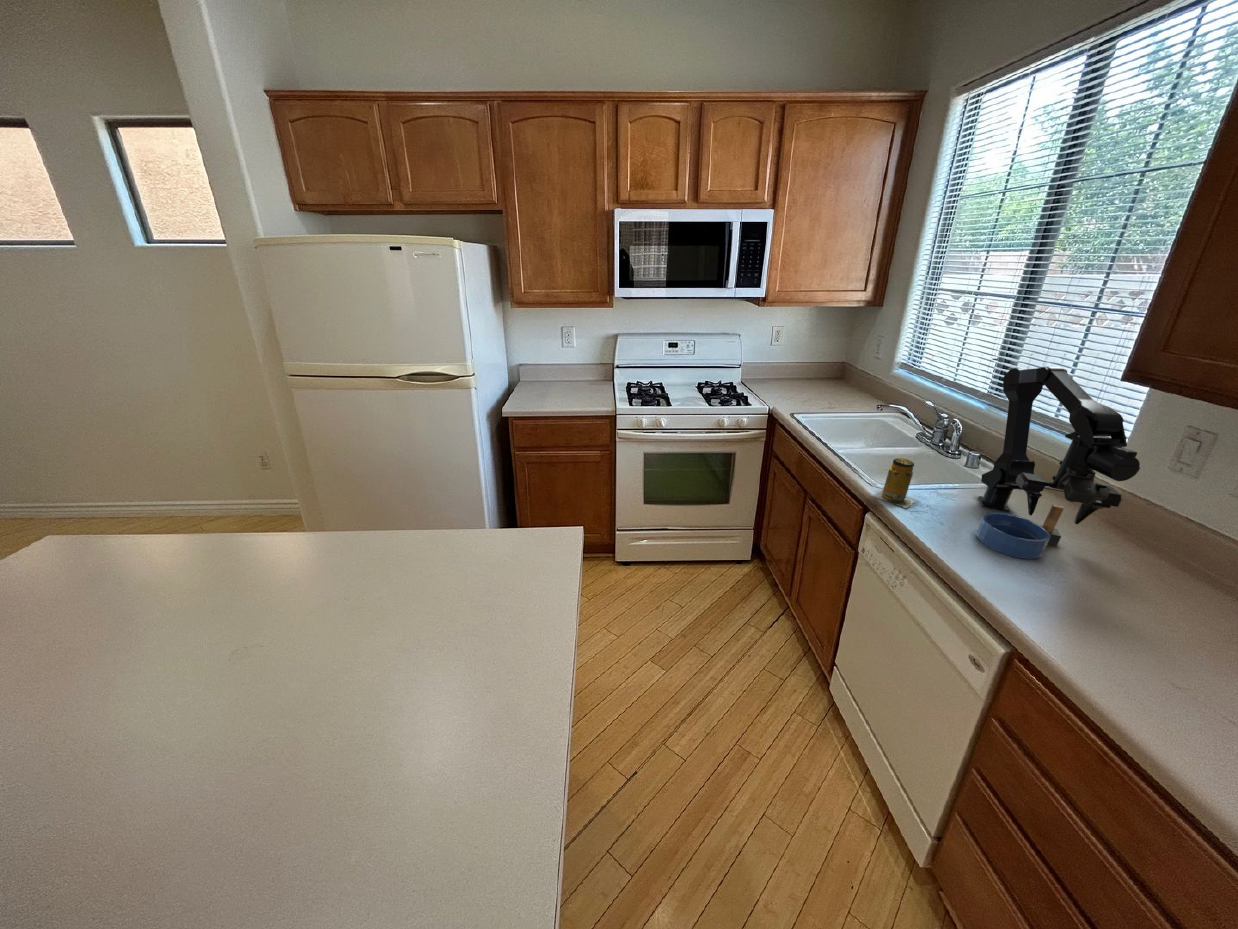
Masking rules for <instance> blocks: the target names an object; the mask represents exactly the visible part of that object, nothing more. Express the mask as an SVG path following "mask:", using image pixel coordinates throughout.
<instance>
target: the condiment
mask: <svg viewBox="0 0 1238 929" xmlns="http://www.w3.org/2000/svg"><path fill="white" fill-rule="evenodd" d="M914 466H915V463H914V462H913V461H912V460H910V459H907V458H903V457H897V458H894V459H893V460H892V464H891V466H890V467H889V468H888V471H887V475H886V479H885V481H884V486H883V489H882V493H880V494H878V495H876V496H875V498H878V499H879V500H883V501H884V502H888V503H890V504H894V505H896V506H899V507H903V508H905V509H907V508H909V507H911V506H912V505H913V504H915V503H916V502H917V500H914V499H912V498H909V497H907V494H908V491H909V487H910V484H911V481H912V478H913V474H914V472H913V471H914Z"/></svg>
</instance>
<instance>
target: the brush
mask: <svg viewBox="0 0 1238 929" xmlns="http://www.w3.org/2000/svg"><path fill="white" fill-rule="evenodd" d="M1064 509H1065V506H1063V505H1062V504H1059V503H1052V505H1051V507H1050V509H1049V511H1048V513H1047V516H1046V518H1045V520H1044V522H1043V524H1042V525H1041V526H1042V527H1043V528H1044V529H1046V530H1047V531H1048V532H1049V534H1050V539H1049V542H1048V544H1047V545H1048V546H1053V547H1058V544H1059V542H1060V540H1061V538H1062V535H1061V533H1060V532H1059V530H1058V529H1057V528H1056V526H1057V524H1058V522H1059V519H1060V518H1061V516H1062V513H1063V511H1064Z"/></svg>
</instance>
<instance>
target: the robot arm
mask: <svg viewBox="0 0 1238 929" xmlns="http://www.w3.org/2000/svg"><path fill="white" fill-rule="evenodd" d="M1044 386H1045V387H1046V388H1047V389H1048V391H1049V392H1050V393H1051V394H1052V395H1053V397H1055V398H1056V400H1058V402H1059V403H1060V404H1061V405H1062V406H1063V408H1065V410H1066V411H1067V412H1068V414H1069V416H1068V421H1069V423H1070V425H1071V427H1072V428H1073V432H1070V433H1066V434H1065V435H1064V437H1065V438H1067V439H1069V440H1070V441H1071V442H1070V444H1069V446H1068V449H1067V451H1066V453H1065V455H1064V457H1063V459H1060V461H1059V463H1058V465H1060V466H1059V468H1058V470H1057V473H1056V474H1054V475H1053V476H1052V480H1053V481H1051V480H1044V479H1043V478H1042V477H1041V476H1040V475H1039V474H1035V468H1036V462H1035V461H1034V460H1030V458H1029V457H1028V455H1027V452H1028V451H1027V450H1028V443H1029V434H1030V427H1031V419H1032V412H1033V411H1032V410H1033V405H1034V401H1035V400H1036V399H1037V398H1038V396H1039V395H1040V394H1041V393H1042V391H1043V388H1044ZM1002 390H1003V391H1002V392H1003V393H1004V395H1005V397H1006V399H1007V401H1008V406H1007V407H1008V408H1007V417H1006V424H1005V431H1004V440H1003V448H1002V453H1001V455H1000V456H999V457H998V458H997V459H996V460H995V461H994V464H993V468H992V469H991V470H989V471H986V472H985V473H982V474H981V479H980V482H981V483H982V484H984V485H986V486H987V487H986V489H985V492H984V495H983V496H981V495H978V497H977V499H978V501H979V502H980V504H981V506H982V507H983V508H988V509H994V510H997V511H998V510H999V511H1003V512H1011V509H1010V507H1009V505H1008V503H1009V501H1010V498H1011V496H1012V493H1013V491H1014V490H1019V491H1024V492H1025V493H1026V499H1027V509H1028V510H1027V511H1028V515H1029V516H1030V517H1031V516H1033V515H1034V513H1035V511H1036V508H1037V505H1038V502H1039V499H1040V498H1041V497H1042V496H1043V494H1042V493H1041V492H1043V491H1044V489H1045V490H1051V491H1057V492H1063V494H1064V499H1065V500H1066V501H1068V502H1071V503H1080V506H1079V508H1078V511H1077V513H1076V514H1075V518H1074V520H1073V521H1074V524H1075V525H1079V524H1080V523H1081V522H1083V521H1085V519H1087V518H1088V517H1089V516H1091V514H1093V513H1095V512H1096V511H1099V510H1102V509H1110V508H1112V507H1115V508H1118V507H1120V506H1121V504H1122V502H1123V496H1122V494H1121V493H1120V492H1118V491H1117V490H1116V489H1115V488H1114V487H1113V486H1110V485H1109V484H1108V485H1107V484H1101V483H1098V482H1095V477H1096V472H1097V473H1099V474H1101V475H1103V476H1105V477H1107V478H1109V479H1111V480H1113V481H1116V482H1125V481H1128V480H1130V479H1132V478H1134V477H1135V476H1136V475H1137V474H1138V473H1139V471H1140V470H1141V467H1140V466H1141V465H1140V464H1141V463H1140V460H1139V459H1138V458H1137V455H1138V451H1135V450H1133V449H1128V448H1127V446H1128V442H1127V436H1126V432H1125V427H1124V417H1123V416H1122V415H1121V413H1119V412H1118V411H1116V410H1114V409H1113V408H1111V407H1109V406H1108V405H1105V404H1102V403H1099V402H1098V401H1096V400H1095V399H1093V397H1091V396H1090V395H1089V394H1088V393H1087V391H1085V389H1083V388H1082V387H1081V385H1079V384H1078V382H1076V380H1074V378H1072V376H1071V375H1070V374H1069V373H1068V370H1067V369H1066V368H1065V367H1063V366H1046V365H1045V366H1042V367H1041V366H1040V367H1037V368H1036V367H1035V368H1018V367H1017V368H1016V367H1013V368H1010V369H1009V370H1008V371H1007V372H1006V373H1005V374H1004V375H1003V378H1002Z"/></svg>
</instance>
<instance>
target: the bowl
mask: <svg viewBox="0 0 1238 929" xmlns="http://www.w3.org/2000/svg"><path fill="white" fill-rule="evenodd" d="M1042 526H1043V525H1040V524H1038V523H1037V522H1034V521H1033V520H1030V519H1027V518H1025V517H1021V516H1018V515H1015V514H1010V513H1005V512H988V513H985V514H983V516H982V518H981V521H980V524H979V526H978V528H977V531H976V533H975V534H976V538H977V539H978V540H979V541H980V542H981V543H982V544H984V545H986V546H987V547H989V548H990V549H992V550H994V551H996V552H999V553H1002V554H1005V555H1006V556H1010V557H1015V558H1020V559H1029V560H1030V559H1038V558H1040V557H1042V556H1043V554H1044V552H1045V549H1046V547H1047V545H1048V542H1049V539H1050V534H1049V532H1048V531H1047V530H1046V529H1044V528H1043V527H1042Z"/></svg>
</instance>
